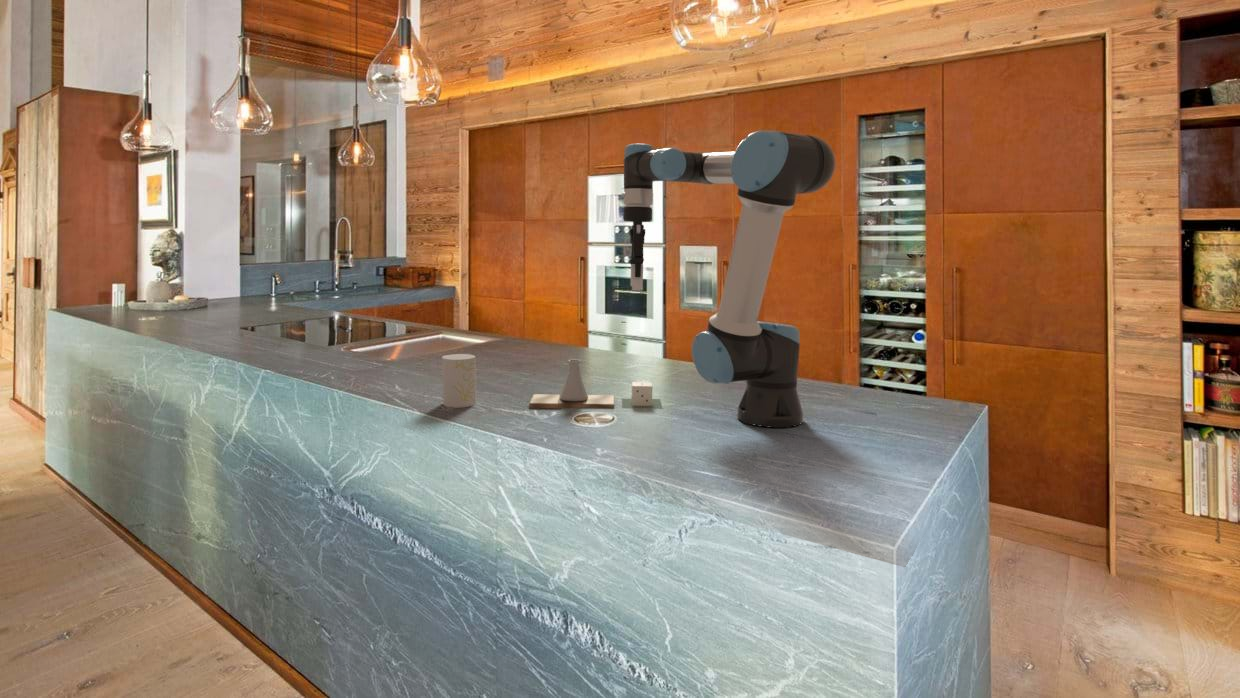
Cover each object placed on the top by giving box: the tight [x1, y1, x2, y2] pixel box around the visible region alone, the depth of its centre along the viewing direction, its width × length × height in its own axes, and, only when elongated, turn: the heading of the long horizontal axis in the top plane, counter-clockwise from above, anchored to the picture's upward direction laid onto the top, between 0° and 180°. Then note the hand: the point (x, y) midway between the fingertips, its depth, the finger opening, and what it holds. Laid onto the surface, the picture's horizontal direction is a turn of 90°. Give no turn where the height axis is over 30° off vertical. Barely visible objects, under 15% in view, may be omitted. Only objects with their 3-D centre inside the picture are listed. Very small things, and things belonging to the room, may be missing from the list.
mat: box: [621, 398, 663, 409], centre depth 177 cm, size 10×10×1 cm
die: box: [630, 381, 653, 406], centre depth 177 cm, size 5×5×5 cm
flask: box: [560, 359, 588, 401], centre depth 176 cm, size 7×7×10 cm
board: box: [528, 393, 615, 409], centre depth 177 cm, size 21×10×1 cm, turn 91°
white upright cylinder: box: [441, 353, 477, 409], centre depth 175 cm, size 8×8×12 cm
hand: (636, 288), depth 184 cm, fingers open, 13 cm apart
